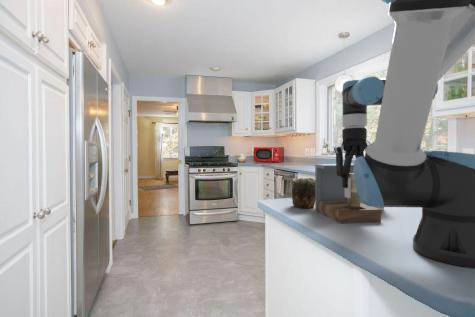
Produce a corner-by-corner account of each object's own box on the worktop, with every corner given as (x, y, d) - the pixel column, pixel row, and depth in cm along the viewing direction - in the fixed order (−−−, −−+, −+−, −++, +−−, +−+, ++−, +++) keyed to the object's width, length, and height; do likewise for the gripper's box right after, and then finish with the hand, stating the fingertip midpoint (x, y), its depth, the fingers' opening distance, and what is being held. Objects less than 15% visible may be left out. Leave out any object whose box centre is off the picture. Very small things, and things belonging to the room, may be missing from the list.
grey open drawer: (363, 213, 99) (363, 164, 98) (324, 215, 97) (324, 165, 97) (351, 208, 107) (351, 163, 106) (315, 210, 105) (315, 164, 105)
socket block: (380, 221, 88) (380, 209, 88) (340, 223, 87) (340, 211, 86) (353, 209, 105) (353, 199, 105) (318, 211, 103) (318, 200, 103)
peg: (362, 209, 90) (363, 174, 89) (351, 210, 89) (351, 174, 89) (356, 207, 94) (356, 172, 93) (345, 207, 93) (345, 173, 93)
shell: (322, 209, 107) (322, 179, 106) (294, 209, 107) (294, 179, 106) (314, 203, 117) (314, 176, 117) (289, 203, 118) (289, 176, 117)
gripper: (371, 128, 95) (371, 194, 96) (325, 128, 93) (325, 195, 94) (385, 126, 87) (384, 198, 88) (335, 127, 85) (335, 200, 86)
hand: (354, 196), depth 91 cm, fingers closed on peg, 4 cm apart
